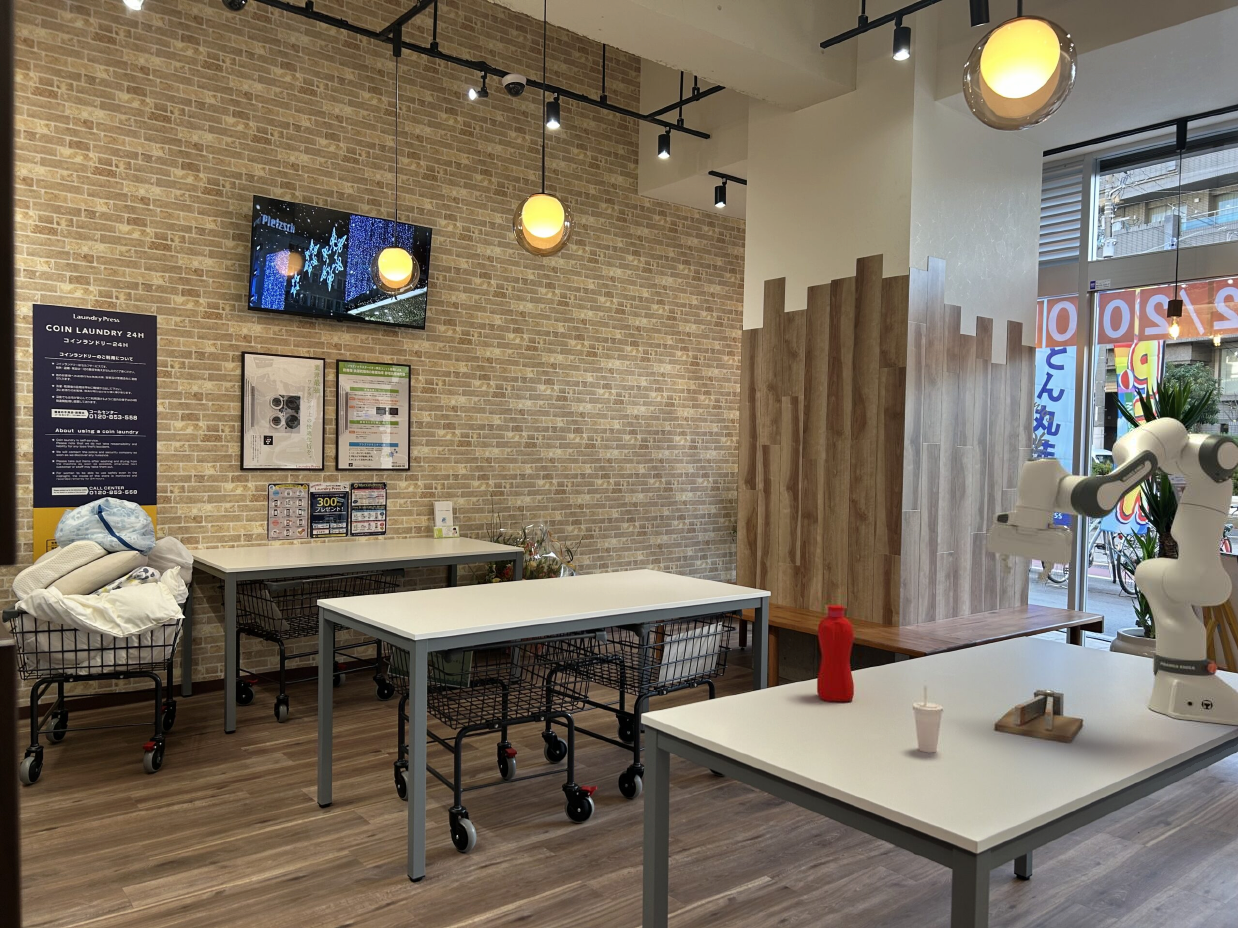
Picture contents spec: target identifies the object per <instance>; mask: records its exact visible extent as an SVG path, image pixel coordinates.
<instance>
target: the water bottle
mask: <svg viewBox="0 0 1238 928" xmlns="http://www.w3.org/2000/svg"><path fill="white" fill-rule="evenodd" d="M817 627H818V628H817V637H818V643H819V648H820V652H821V661H820V666H819V671H818V675H817V681H816V683H817V684H816V693H817V695H818V698H820V699H821V700H823V701H825V702H840V703H841V702H842V703H847V702H851V701H852V700H853V699H854V697H855V696H854V695H855V683H854V678H853V673H852V670H851V664H850V660H851V659H850V658H851V655H852V649H853V648H852V647H853V643H854V638H855V634H854V632H855V631H854V627H853V625H852V623H851V621H849V619H847V618H846V617H845V606H843V605H839V604H831V605H827V616H825V617H824V618H822V619H821V620H820V622H819V624H818V626H817Z"/></svg>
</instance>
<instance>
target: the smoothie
mask: <svg viewBox="0 0 1238 928" xmlns="http://www.w3.org/2000/svg"><path fill="white" fill-rule="evenodd" d="M927 693H928V686H927V685H924V686H923V701H922V702H919V701H918V702H914V703H913V704H912V710H913V713H914V719H915V728H916V729H915V730H916V738H917V746H918V747H917V748H918V750H919V751H920V752H923V753H936V752H937V748H938V742H939V734H940V727H941V722H942V721H941V720H942V714H943V713H944V707H943V706H942V705H940V704H938V703H933V702H928V700H927V699H928V698H927V697H928V696H927V695H928V694H927Z"/></svg>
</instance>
